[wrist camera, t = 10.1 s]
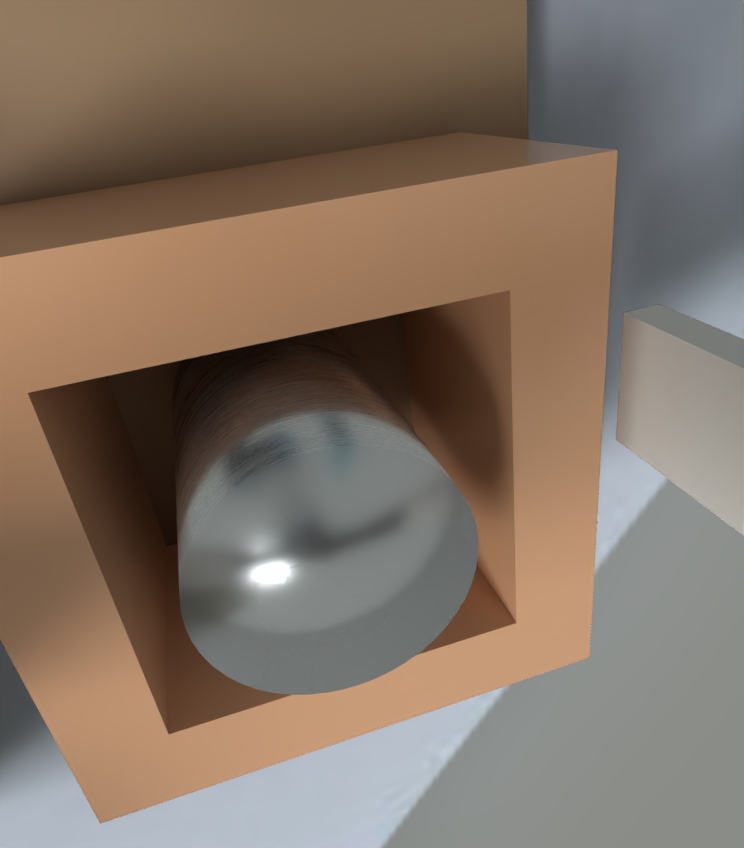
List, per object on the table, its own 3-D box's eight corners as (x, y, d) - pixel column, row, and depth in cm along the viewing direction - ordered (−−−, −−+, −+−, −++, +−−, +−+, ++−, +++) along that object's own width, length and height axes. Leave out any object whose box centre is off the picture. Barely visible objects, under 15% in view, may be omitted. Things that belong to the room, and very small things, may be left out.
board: (-499, -545, 7) (-588, -632, 6) (488, -513, 10) (521, -574, 9) (63, 623, 16) (58, 653, 15) (514, 495, 18) (532, 515, 17)
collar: (-50, 213, 11) (-191, 290, 6) (459, 131, 12) (617, 149, 8) (117, 615, 15) (100, 824, 11) (479, 513, 17) (589, 657, 12)
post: (147, 330, 12) (137, 496, 7) (349, 289, 13) (470, 411, 8) (200, 502, 14) (222, 729, 9) (373, 456, 15) (484, 643, 10)
